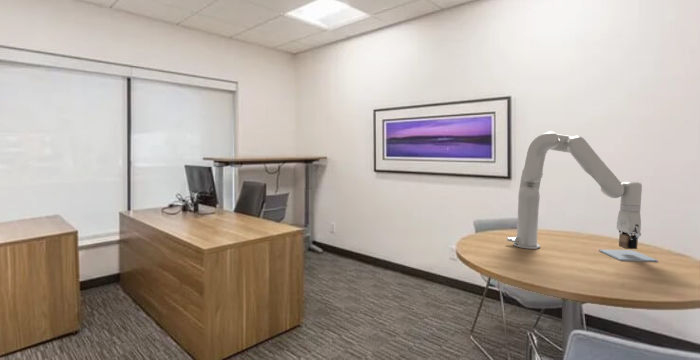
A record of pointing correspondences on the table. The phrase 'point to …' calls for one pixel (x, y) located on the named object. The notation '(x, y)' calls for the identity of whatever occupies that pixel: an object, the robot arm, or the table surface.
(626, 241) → the walnut block
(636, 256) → the slate board
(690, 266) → the table surface
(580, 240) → the table surface
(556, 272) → the table surface
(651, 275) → the table surface
